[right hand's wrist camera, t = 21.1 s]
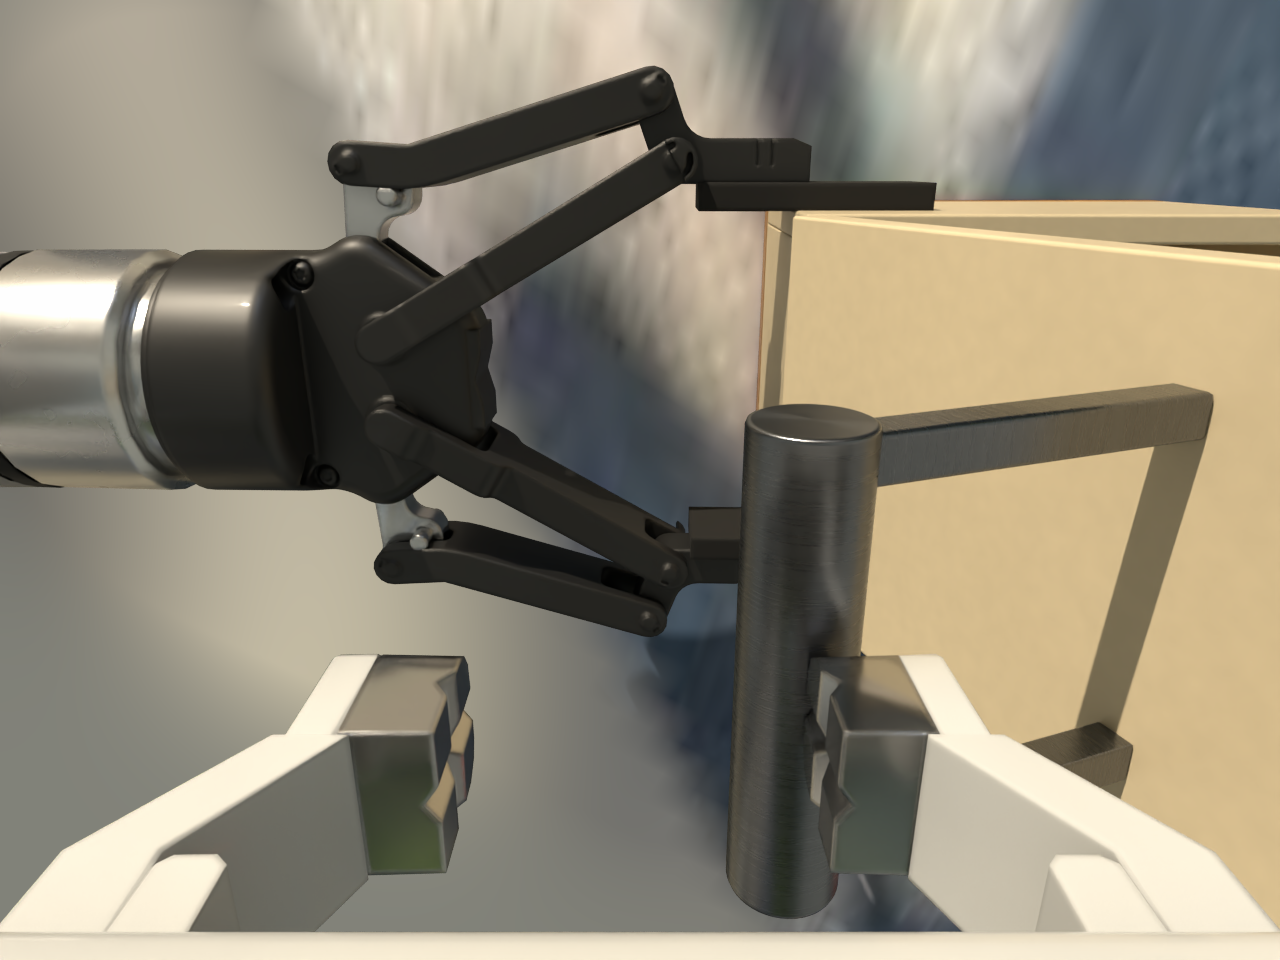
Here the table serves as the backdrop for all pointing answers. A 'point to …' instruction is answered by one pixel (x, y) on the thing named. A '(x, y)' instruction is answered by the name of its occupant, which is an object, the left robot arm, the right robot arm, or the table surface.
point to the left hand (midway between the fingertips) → (902, 376)
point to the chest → (1041, 217)
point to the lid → (1020, 523)
